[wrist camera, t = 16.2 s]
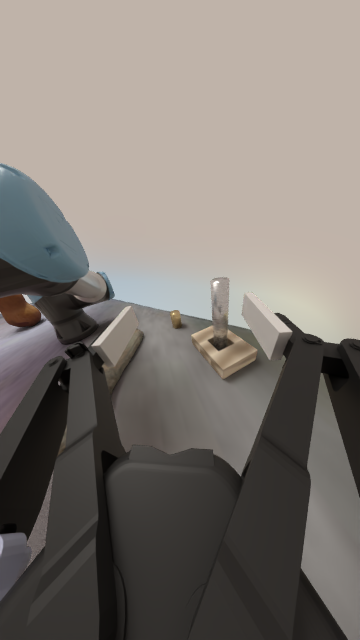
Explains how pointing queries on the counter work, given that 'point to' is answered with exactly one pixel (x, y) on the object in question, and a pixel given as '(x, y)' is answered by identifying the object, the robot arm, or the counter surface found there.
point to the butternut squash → (19, 311)
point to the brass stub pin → (176, 319)
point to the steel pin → (220, 311)
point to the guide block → (224, 352)
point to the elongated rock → (115, 370)
